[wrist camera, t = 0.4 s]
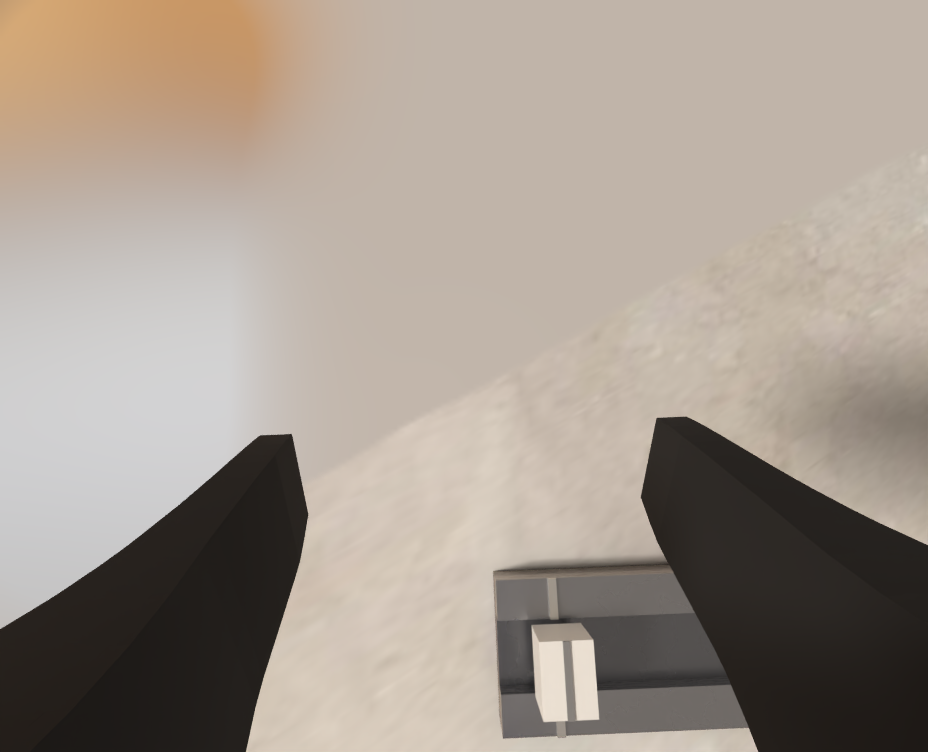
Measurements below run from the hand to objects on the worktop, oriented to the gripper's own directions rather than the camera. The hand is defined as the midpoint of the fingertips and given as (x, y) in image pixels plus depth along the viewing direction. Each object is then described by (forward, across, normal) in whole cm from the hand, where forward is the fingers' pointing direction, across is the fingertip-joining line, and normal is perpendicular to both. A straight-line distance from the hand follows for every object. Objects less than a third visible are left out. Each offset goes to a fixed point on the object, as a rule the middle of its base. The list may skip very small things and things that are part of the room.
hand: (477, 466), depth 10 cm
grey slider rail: (+13, -14, +25) cm, 32 cm away
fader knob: (+12, -6, +24) cm, 27 cm away
